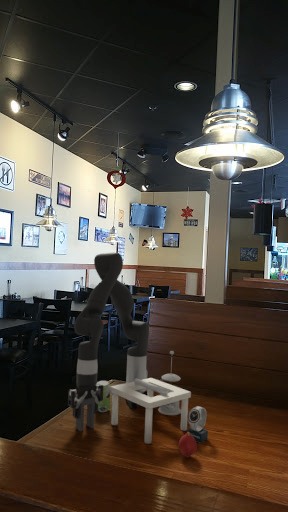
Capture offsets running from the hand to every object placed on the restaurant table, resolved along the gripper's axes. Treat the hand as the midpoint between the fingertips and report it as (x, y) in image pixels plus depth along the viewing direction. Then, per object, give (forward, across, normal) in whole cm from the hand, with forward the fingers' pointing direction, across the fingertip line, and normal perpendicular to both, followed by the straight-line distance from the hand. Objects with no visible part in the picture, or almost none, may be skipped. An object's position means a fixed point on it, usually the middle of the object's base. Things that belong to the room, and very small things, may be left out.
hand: (85, 415), depth 147 cm
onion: (+5, -14, +38) cm, 41 cm away
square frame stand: (+4, -20, +13) cm, 24 cm away
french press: (+5, -38, +5) cm, 39 cm away
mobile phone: (+5, -30, -11) cm, 33 cm away
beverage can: (+5, -15, -10) cm, 19 cm away
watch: (+5, -27, +31) cm, 41 cm away
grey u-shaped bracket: (+4, 0, 0) cm, 4 cm away
